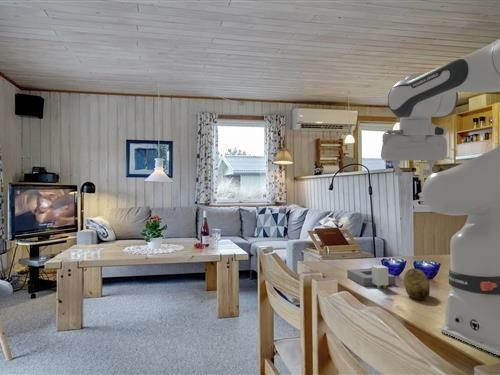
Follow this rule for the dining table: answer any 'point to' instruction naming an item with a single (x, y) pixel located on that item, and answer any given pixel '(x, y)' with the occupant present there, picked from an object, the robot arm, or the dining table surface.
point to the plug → (380, 275)
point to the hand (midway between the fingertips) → (412, 175)
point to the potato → (416, 284)
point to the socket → (366, 277)
